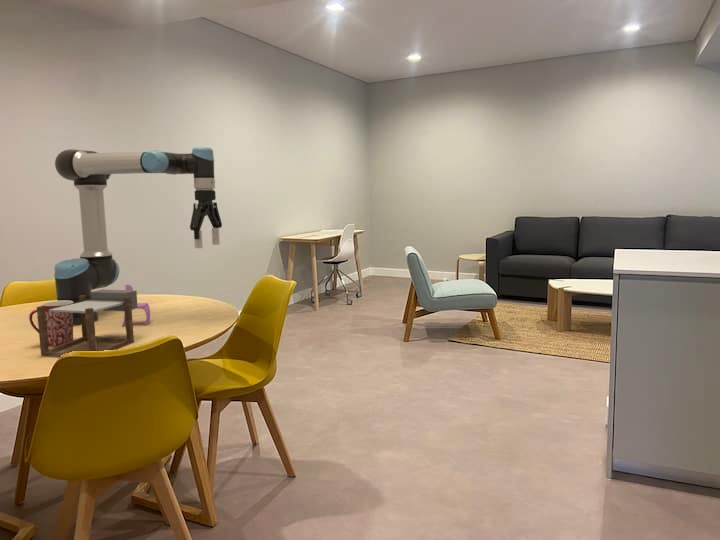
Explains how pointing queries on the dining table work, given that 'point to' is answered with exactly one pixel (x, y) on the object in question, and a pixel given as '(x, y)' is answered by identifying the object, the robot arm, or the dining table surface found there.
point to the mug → (57, 323)
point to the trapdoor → (102, 302)
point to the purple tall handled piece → (139, 306)
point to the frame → (85, 331)
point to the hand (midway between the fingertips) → (207, 246)
